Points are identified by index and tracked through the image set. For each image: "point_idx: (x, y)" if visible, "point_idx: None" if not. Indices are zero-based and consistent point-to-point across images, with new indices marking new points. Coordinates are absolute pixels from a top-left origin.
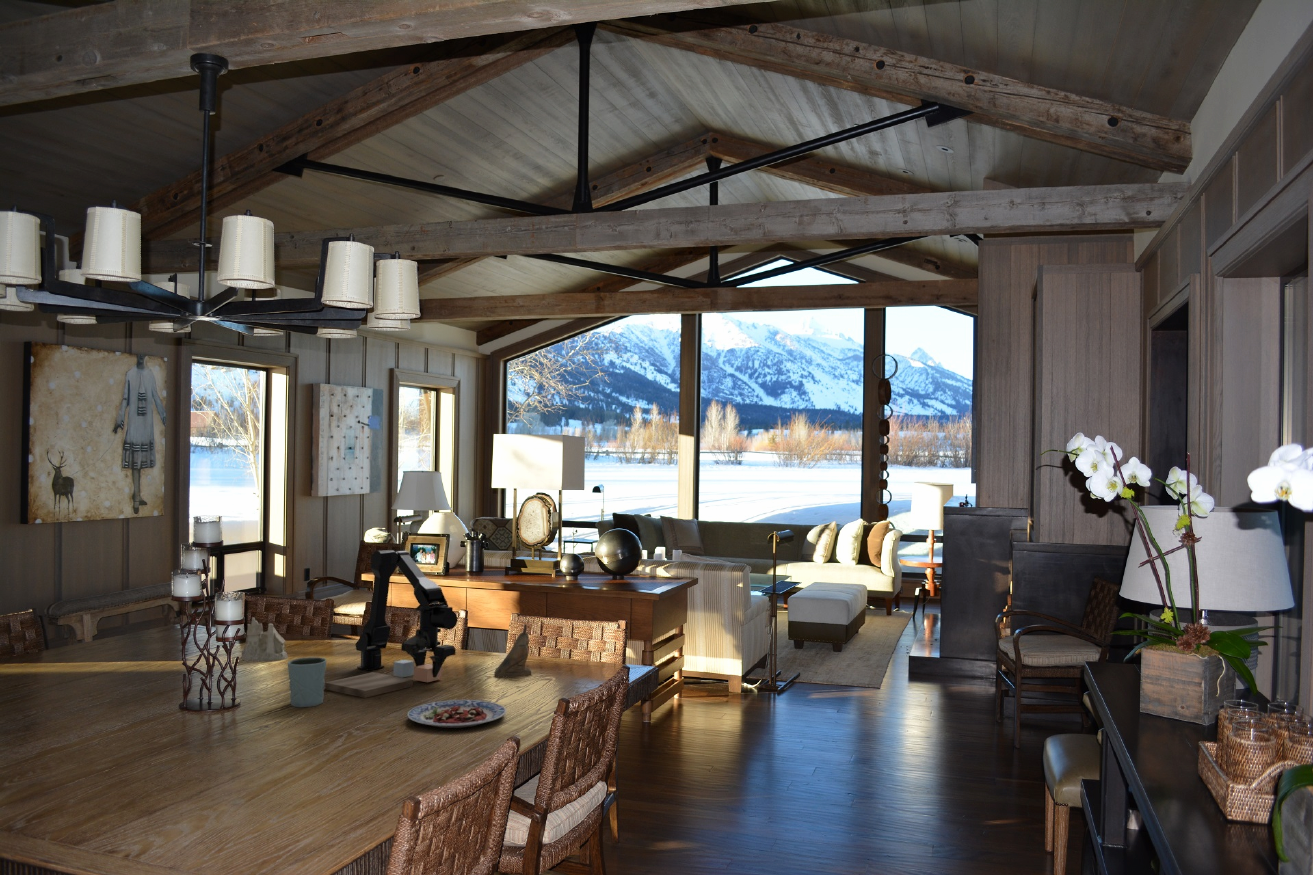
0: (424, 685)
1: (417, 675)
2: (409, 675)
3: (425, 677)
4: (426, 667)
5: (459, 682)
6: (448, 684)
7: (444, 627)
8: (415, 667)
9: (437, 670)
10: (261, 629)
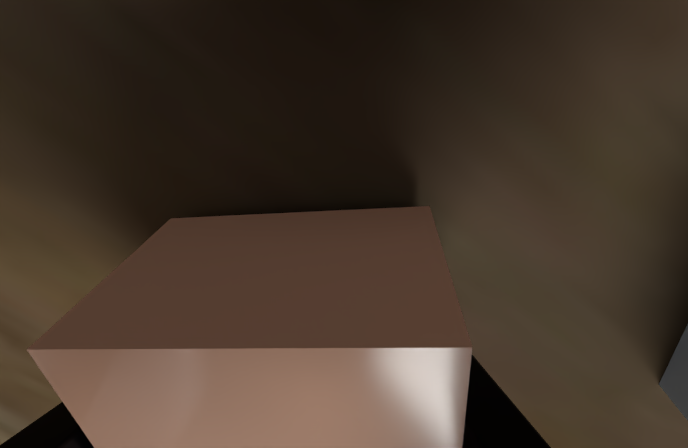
0: (109, 126)
1: (347, 243)
2: (684, 343)
3: (173, 245)
4: (210, 425)
5: None
6: (27, 310)
7: None
8: (410, 338)
9: None
10: None
